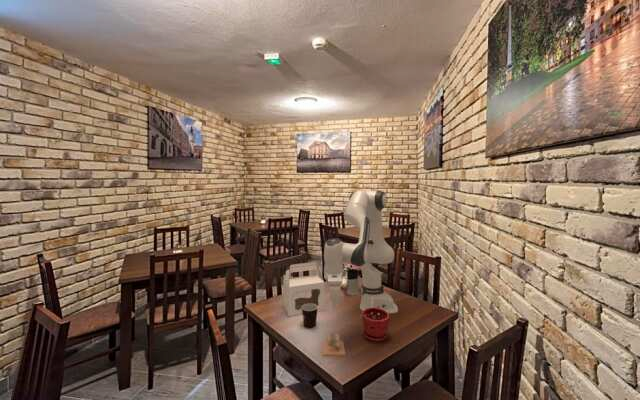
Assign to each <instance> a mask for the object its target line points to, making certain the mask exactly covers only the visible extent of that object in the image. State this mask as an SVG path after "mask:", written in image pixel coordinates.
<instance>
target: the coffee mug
mask: <svg viewBox="0 0 640 400" xmlns="http://www.w3.org/2000/svg"><path fill="white" fill-rule="evenodd" d="M317 309H318V306H317V305H315V304H305V305H303V306H302V314H301V315H302V320H303V321H302V322H303V327H304V328H305V329H313V328H315V327H316V324H317V316H318V312H317Z"/></svg>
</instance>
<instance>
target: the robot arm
mask: <svg viewBox="0 0 640 400" xmlns="http://www.w3.org/2000/svg"><path fill="white" fill-rule="evenodd" d="M387 204H388V197H387V194H386V192H385V191H382V190H373V189H367V190H356V191H353V192H351V194H350V195H349V197H348V203H347V205H346V207H345V212H344V217H345V219H346V220H347V222H348V223H349V224H350V225H352V226H354V227H356V228H358V229H359V238H358V243H348V242H342V240H341V239H340V238H330V239H327V240H326V241H325V244H324V249H323V250H324V251H323V260H324V268H323V275H324V276H323V279H325V281H326V284H327V285H328V288H329V289H328V290H329V296H330V302H331V303H332V308H333V309H337V307H338V306H337V305H338V303H339V302H340V299H341V290H342V289H341V288H342V286H343V285H342V284H343V279H344V274H343V273H344V266H343V264H349V265H352V266H355V267H356V266H357V267H359V268H360V270H361V275H362V277H361V278H362V280H361V281H362V284H361V298H360V299H361V300H360V305H359V309H360V310H361V311H362V312H363V311H364V310H365V309H367V308H380V309H383V310H385V311H387V312H388V314H389V315H390V314H396V313H398V312H399V309H398V305H397V304H396V303H395V302H394V299H393V297H392V296H391V295H390V294H389V293H388V292H387V288H386V287H385V286H384V285H383V284H382V273H381V270H379V269H378V268H376V267H374V265H372V264H381V265H385V264H391V263H392V262H393V261H394V259H395V251H394V248H392V246H391V245H389V244H388V243H387V242H386V240H385V238H384V237H385V236H384V235H383V234H384V233H383V212H382V211H383V210H384V209H385V208H386V206H387ZM369 240H371V241H372V243H373V244H372V243H371V244H370V241H369ZM371 314H372V312H371ZM378 315H380V314H379V313H378Z"/></svg>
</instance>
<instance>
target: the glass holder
mask: <svg viewBox="0 0 640 400" xmlns="http://www.w3.org/2000/svg"><path fill="white" fill-rule="evenodd" d="M346 272H347V276H346V274H345V273H344V272H343V277H344V279H345V280H346V283H347V284H346V286H345V284H343V283H342V285H341V286H343V287H344V288H346V293H347V294H348V295H351V296H352V295H353V296H354V295H355V296H357V295H359V294H360V291H359V289H360V288H359V287H360V286H359V284H360V281H359V280H360V279H359V278H360V276H359V275H360V274H359V270H358V269H354V268H353V269H352V268H351V269H347V271H346ZM346 277H347V278H346Z"/></svg>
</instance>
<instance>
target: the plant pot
mask: <svg viewBox="0 0 640 400" xmlns="http://www.w3.org/2000/svg"><path fill="white" fill-rule="evenodd" d="M371 312H372V314H371ZM378 313H379V314H380V315H378ZM373 316H375V318H373ZM361 321H362V326H363V327H362V328H363V335H364V337H365V338H367V339H368V340H370V341H373V342H382V341H384V340H385V339H386V338H388V337H387V336H388V329H389V326H390V314H388V312H387V311H385V310H383V309H380V308H367V309H365V310H364V311H363V310H362V317H361Z"/></svg>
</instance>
